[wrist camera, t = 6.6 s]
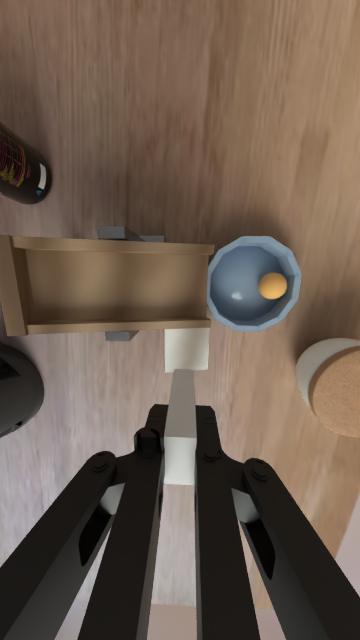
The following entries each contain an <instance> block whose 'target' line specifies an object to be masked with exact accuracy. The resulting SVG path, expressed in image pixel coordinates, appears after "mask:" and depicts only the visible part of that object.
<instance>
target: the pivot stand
mask: <svg viewBox="0 0 360 640" xmlns="http://www.w3.org/2000/svg"><path fill="white" fill-rule="evenodd" d="M97 228H98V238H99V239H102V240H114V241H138V242H162V243H165V236H138V235H136V234H135V233H133V232H132V231H130V230H129V229H128V228H126V227H125V226H97ZM139 331H140V330H132V331H105V334H106V341H130V340H131V339H132V338H133V337H134V336H135V335H136V334H137V333H138V332H139Z"/></svg>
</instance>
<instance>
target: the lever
mask: <svg viewBox="0 0 360 640" xmlns="http://www.w3.org/2000/svg"><path fill="white" fill-rule="evenodd" d="M214 246H215V245H210V244H186V243H162V242H138V241H114V240H91V239H67V238H43V237H19V236H10V235H0V301H1V306H2V311H3V317H4V322H5V327H6V332H7V336H26V335H28V334H48V333H76V332H104V331H132V330H160V329H164V371H165V372H174V369H192V370H205V369H208V352H209V332H210V324H211V320H210V319H208V318H207V317H206V303H207V281H208V260H209V255H211V254H214Z"/></svg>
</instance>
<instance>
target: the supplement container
mask: <svg viewBox="0 0 360 640" xmlns="http://www.w3.org/2000/svg"><path fill="white" fill-rule="evenodd" d="M50 186H51V174H50V170H49V167H48V164H47V162H46V161H45V159H44V157H43V156H42V155H41V154H40V153H39V152H38V151H37V150H36V149H35V148H34V147H32V146H31V145H30V144H29V143H27V142H26V141H25V140H23V139H22V138H21V137H20V136H18V135H17V134H16V133H15V132H13V131H12V130H11V129H9V128H8V127H7V126H6V125H4V124H3V123H2V122H1V121H0V195H2V196H5V197H7V198H10V199H12V200H15V201H17V202H20V203H22V204H36V203H38V202H40V201H42V200H43V199H44V198H45V197H46V196H47V194H48V192H49V190H50Z"/></svg>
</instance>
